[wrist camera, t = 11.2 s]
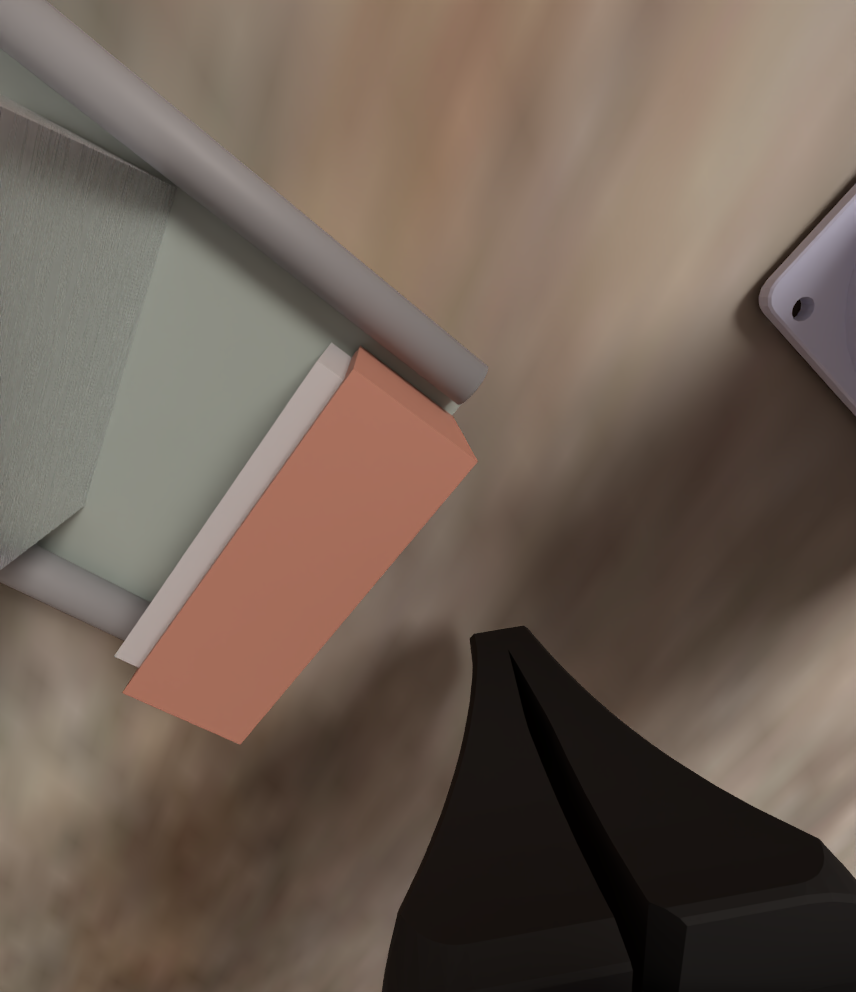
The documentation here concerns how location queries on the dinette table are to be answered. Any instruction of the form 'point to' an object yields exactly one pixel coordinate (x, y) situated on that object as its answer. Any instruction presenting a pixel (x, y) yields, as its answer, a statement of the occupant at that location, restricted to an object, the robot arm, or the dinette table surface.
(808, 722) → the dinette table surface
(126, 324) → the aluminium block
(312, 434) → the block
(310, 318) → the vise base
